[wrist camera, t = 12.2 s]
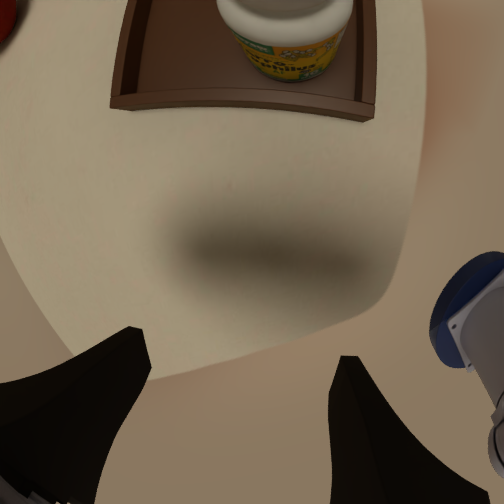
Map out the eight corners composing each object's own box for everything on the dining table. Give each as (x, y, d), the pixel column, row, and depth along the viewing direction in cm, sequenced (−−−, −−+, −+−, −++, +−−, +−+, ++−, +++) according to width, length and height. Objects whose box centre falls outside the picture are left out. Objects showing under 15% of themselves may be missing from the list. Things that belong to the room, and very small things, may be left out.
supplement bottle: (341, 24, 12) (375, -67, 3) (323, 95, 14) (357, 33, 5) (257, 6, 12) (220, -88, 3) (235, 74, 14) (170, 6, 5)
